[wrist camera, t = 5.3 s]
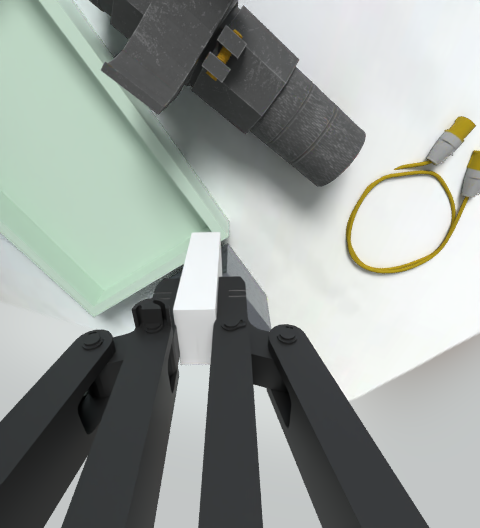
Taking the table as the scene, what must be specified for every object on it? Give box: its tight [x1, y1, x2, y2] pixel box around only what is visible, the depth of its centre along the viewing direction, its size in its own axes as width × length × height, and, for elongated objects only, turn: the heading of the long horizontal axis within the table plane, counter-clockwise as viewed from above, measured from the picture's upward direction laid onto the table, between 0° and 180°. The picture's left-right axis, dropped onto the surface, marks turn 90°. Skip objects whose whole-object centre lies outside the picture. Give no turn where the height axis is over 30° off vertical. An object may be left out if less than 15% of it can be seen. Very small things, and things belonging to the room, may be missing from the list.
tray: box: [0, 0, 229, 317], centre depth 28 cm, size 27×17×4 cm, turn 33°
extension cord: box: [346, 116, 480, 273], centre depth 33 cm, size 12×16×2 cm
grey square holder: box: [169, 244, 271, 331], centre depth 35 cm, size 8×8×6 cm
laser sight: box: [89, 0, 366, 186], centre depth 23 cm, size 10×22×10 cm, turn 53°
